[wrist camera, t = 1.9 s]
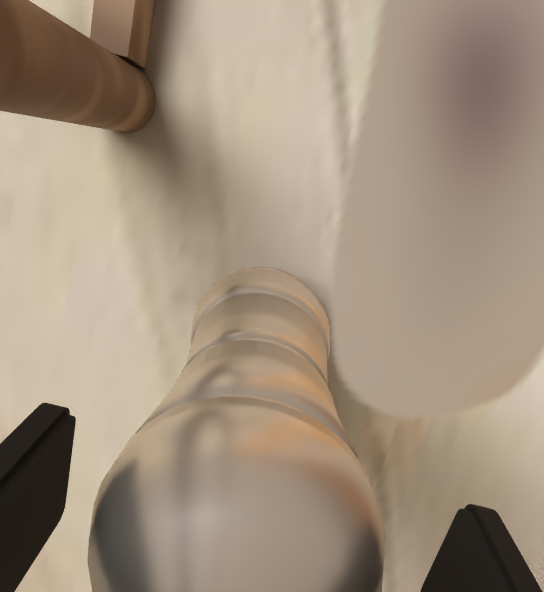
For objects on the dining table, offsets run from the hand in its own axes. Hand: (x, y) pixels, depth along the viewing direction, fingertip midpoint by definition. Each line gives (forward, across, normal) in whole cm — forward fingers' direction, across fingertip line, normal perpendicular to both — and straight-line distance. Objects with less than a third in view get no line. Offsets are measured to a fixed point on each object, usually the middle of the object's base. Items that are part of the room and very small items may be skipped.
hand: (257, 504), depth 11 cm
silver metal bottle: (+14, +1, +1) cm, 14 cm away
